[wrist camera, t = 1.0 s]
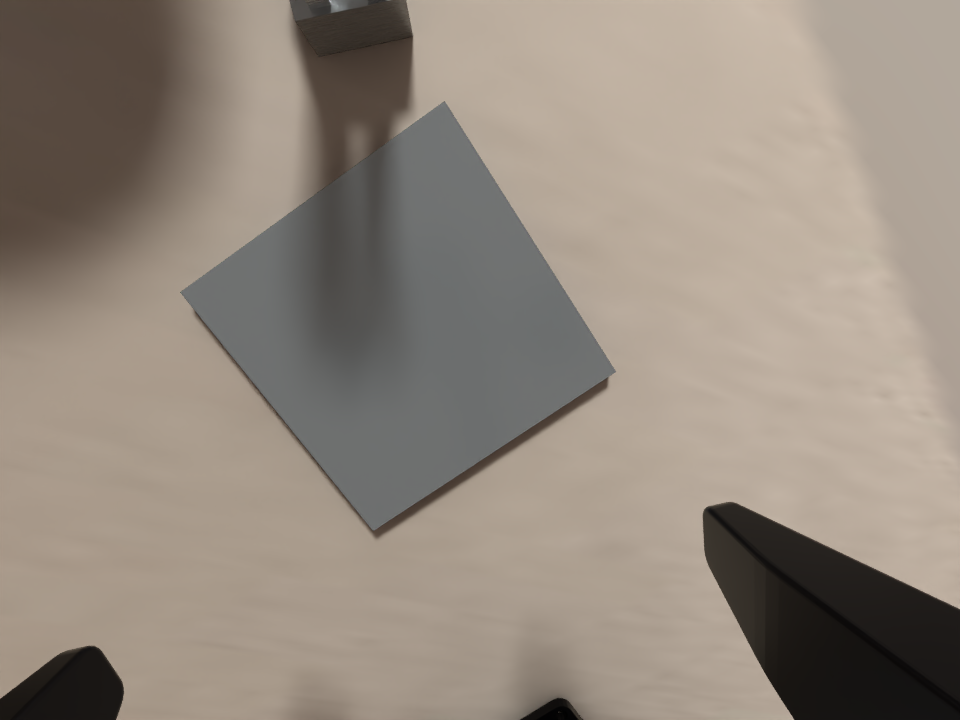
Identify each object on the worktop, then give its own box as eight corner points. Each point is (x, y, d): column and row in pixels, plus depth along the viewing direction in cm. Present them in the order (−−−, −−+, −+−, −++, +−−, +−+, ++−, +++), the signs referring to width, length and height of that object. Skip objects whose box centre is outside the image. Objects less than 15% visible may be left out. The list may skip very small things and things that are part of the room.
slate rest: (609, 367, 19) (616, 371, 18) (376, 520, 20) (373, 531, 19) (444, 108, 17) (444, 100, 16) (192, 290, 18) (180, 292, 17)
